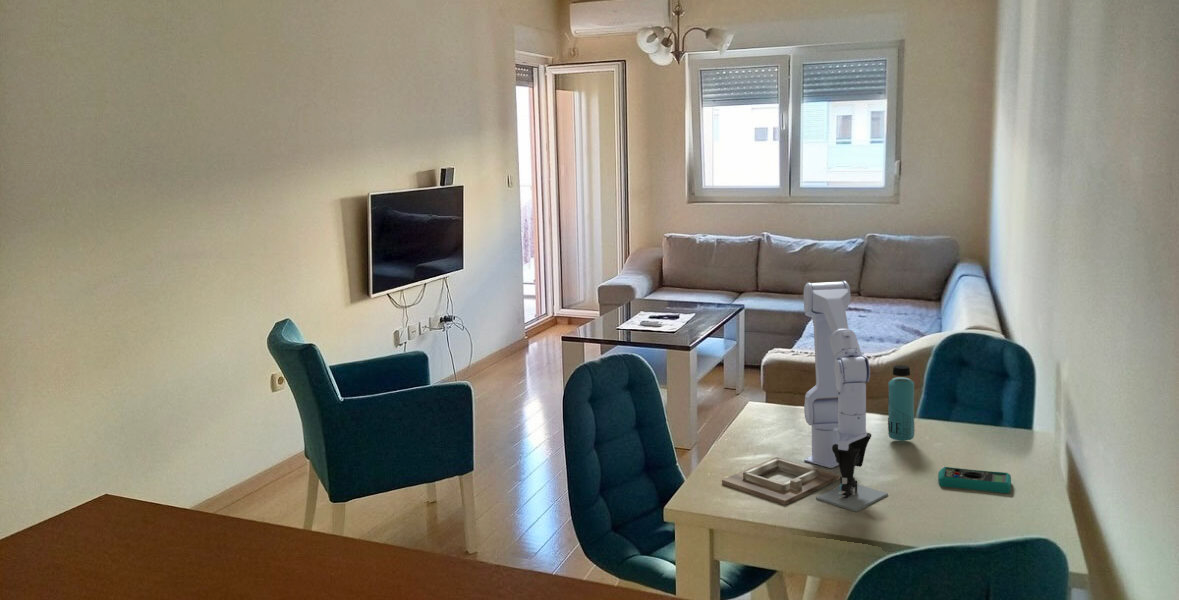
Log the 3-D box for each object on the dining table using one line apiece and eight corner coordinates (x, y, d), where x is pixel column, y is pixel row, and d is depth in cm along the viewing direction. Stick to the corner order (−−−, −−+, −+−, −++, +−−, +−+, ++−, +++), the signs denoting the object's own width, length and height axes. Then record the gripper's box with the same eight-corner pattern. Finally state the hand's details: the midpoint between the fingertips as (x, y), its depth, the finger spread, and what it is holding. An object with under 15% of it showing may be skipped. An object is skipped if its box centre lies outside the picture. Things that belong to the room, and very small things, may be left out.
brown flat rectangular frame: (776, 460, 223) (776, 449, 223) (839, 479, 210) (839, 466, 209) (722, 483, 211) (721, 471, 210) (785, 505, 197) (785, 491, 197)
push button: (851, 502, 195) (851, 458, 193) (828, 497, 199) (827, 453, 197) (864, 492, 200) (864, 449, 198) (841, 487, 204) (841, 444, 202)
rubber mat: (848, 483, 207) (848, 481, 207) (887, 495, 199) (887, 493, 199) (816, 499, 199) (816, 497, 199) (856, 511, 192) (856, 509, 192)
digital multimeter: (939, 476, 209) (939, 464, 209) (1011, 483, 203) (1011, 471, 203) (937, 488, 203) (937, 475, 202) (1010, 496, 197) (1010, 483, 196)
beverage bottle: (917, 440, 233) (918, 363, 229) (911, 448, 227) (911, 370, 224) (891, 436, 236) (891, 361, 233) (884, 444, 231) (884, 367, 227)
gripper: (842, 400, 204) (843, 458, 206) (823, 418, 192) (823, 480, 194) (874, 403, 200) (874, 462, 203) (857, 422, 188) (857, 485, 191)
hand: (852, 471), depth 198 cm, fingers open, 7 cm apart
